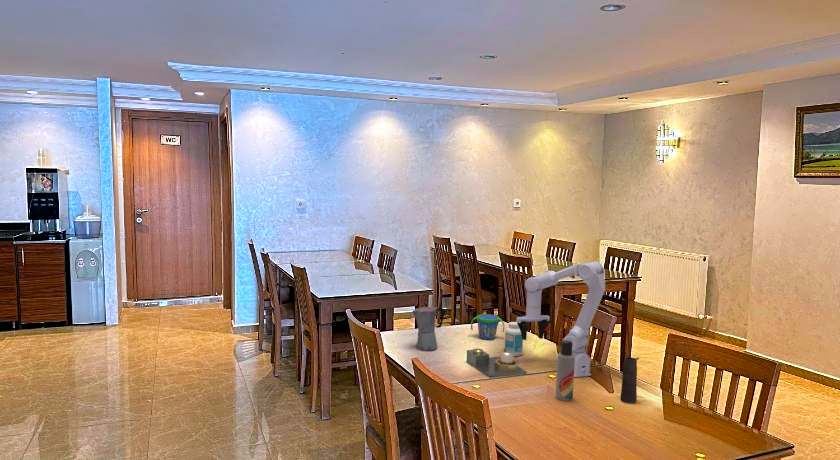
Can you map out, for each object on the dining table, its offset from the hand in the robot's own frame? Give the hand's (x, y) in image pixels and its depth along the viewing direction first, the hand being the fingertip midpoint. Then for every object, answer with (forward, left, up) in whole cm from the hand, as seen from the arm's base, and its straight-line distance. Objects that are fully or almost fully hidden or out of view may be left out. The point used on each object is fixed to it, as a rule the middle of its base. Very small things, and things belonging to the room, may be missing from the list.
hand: (532, 338), depth 242 cm
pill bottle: (+11, +2, -10) cm, 15 cm away
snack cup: (+37, +1, -10) cm, 38 cm away
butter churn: (-48, -10, -10) cm, 50 cm away
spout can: (-6, +15, -9) cm, 18 cm away
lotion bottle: (-39, +11, -10) cm, 42 cm away
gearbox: (-3, +18, -9) cm, 21 cm away
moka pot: (+29, +34, -10) cm, 46 cm away
